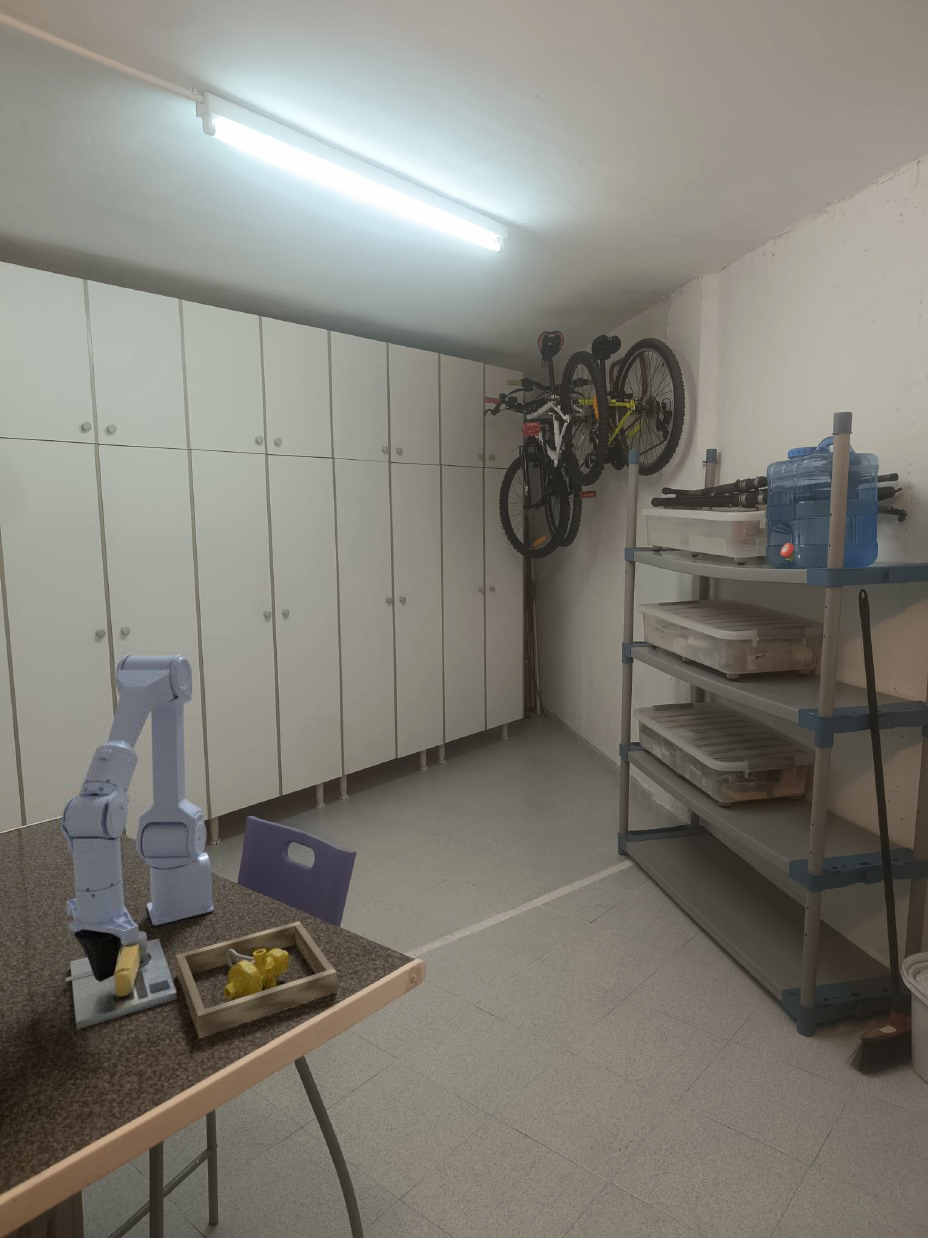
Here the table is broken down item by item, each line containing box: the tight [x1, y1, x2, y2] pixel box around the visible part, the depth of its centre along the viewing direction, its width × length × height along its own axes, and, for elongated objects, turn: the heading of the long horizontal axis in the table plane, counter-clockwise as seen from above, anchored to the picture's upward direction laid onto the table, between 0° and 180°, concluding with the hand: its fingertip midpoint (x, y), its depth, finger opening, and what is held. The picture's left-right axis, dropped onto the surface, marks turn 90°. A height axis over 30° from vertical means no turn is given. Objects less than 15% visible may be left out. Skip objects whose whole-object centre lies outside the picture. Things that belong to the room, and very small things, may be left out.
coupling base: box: [64, 938, 178, 1030], centre depth 102 cm, size 13×16×1 cm
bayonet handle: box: [114, 930, 148, 996], centre depth 102 cm, size 11×4×3 cm, turn 16°
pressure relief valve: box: [222, 948, 291, 1001], centre depth 102 cm, size 6×12×10 cm
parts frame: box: [175, 921, 338, 1040], centre depth 102 cm, size 18×16×3 cm
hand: (105, 977), depth 100 cm, fingers closed
